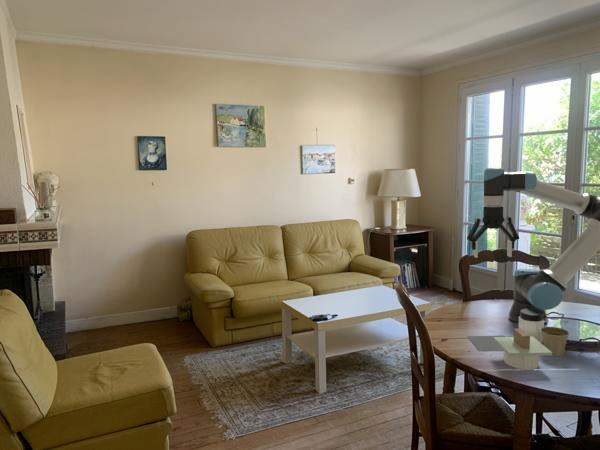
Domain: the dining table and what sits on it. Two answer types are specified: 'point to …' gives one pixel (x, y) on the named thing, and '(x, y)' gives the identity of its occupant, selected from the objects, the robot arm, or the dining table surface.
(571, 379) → the dining table surface
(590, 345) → the dining table surface
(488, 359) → the dining table surface
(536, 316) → the jar
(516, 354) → the lid
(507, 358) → the bowl
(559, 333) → the flower pot
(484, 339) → the mat
